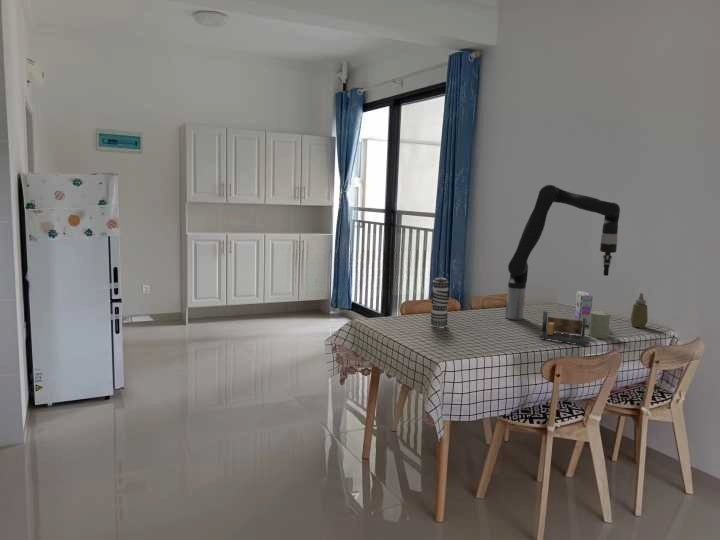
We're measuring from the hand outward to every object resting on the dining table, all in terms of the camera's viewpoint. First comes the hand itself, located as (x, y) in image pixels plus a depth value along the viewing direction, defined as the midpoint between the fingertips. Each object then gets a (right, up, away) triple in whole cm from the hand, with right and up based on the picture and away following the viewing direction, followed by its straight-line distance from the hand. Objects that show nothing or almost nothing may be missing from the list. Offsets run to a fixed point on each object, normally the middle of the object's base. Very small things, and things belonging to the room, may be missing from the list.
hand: (605, 274), depth 285 cm
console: (-28, -31, -19) cm, 46 cm away
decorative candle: (-84, -27, +3) cm, 89 cm away
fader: (-34, -28, -16) cm, 47 cm away
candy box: (-6, -27, +17) cm, 32 cm away
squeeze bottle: (+22, -28, +11) cm, 37 cm away
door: (-24, -29, -7) cm, 38 cm away
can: (-8, -30, -9) cm, 33 cm away
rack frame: (-24, -29, -6) cm, 39 cm away
